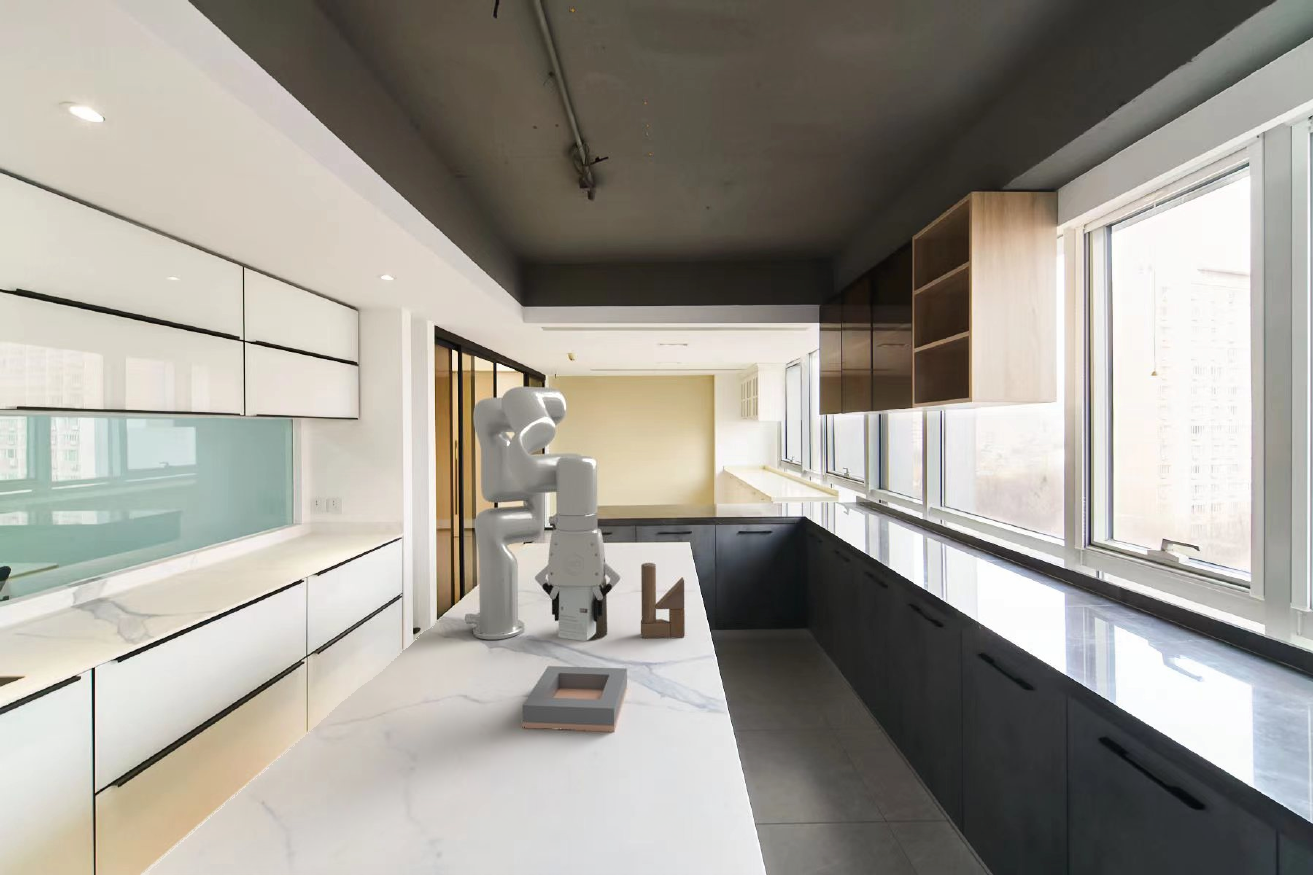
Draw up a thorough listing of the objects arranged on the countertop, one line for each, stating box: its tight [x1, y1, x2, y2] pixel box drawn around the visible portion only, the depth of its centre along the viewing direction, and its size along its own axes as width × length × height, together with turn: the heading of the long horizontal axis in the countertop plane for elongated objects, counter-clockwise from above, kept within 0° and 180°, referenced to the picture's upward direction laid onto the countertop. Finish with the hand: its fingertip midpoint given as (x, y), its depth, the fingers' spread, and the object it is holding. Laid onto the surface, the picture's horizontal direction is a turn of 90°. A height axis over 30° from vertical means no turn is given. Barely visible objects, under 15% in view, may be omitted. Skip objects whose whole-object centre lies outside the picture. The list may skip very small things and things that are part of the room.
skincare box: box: [557, 587, 596, 642], centre depth 104 cm, size 6×4×12 cm
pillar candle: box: [587, 577, 608, 641], centre depth 142 cm, size 10×10×15 cm
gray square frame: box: [522, 665, 628, 733], centre depth 104 cm, size 16×16×4 cm
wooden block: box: [640, 562, 686, 639], centre depth 140 cm, size 4×11×18 cm, turn 93°
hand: (577, 618), depth 104 cm, fingers closed on skincare box, 6 cm apart
